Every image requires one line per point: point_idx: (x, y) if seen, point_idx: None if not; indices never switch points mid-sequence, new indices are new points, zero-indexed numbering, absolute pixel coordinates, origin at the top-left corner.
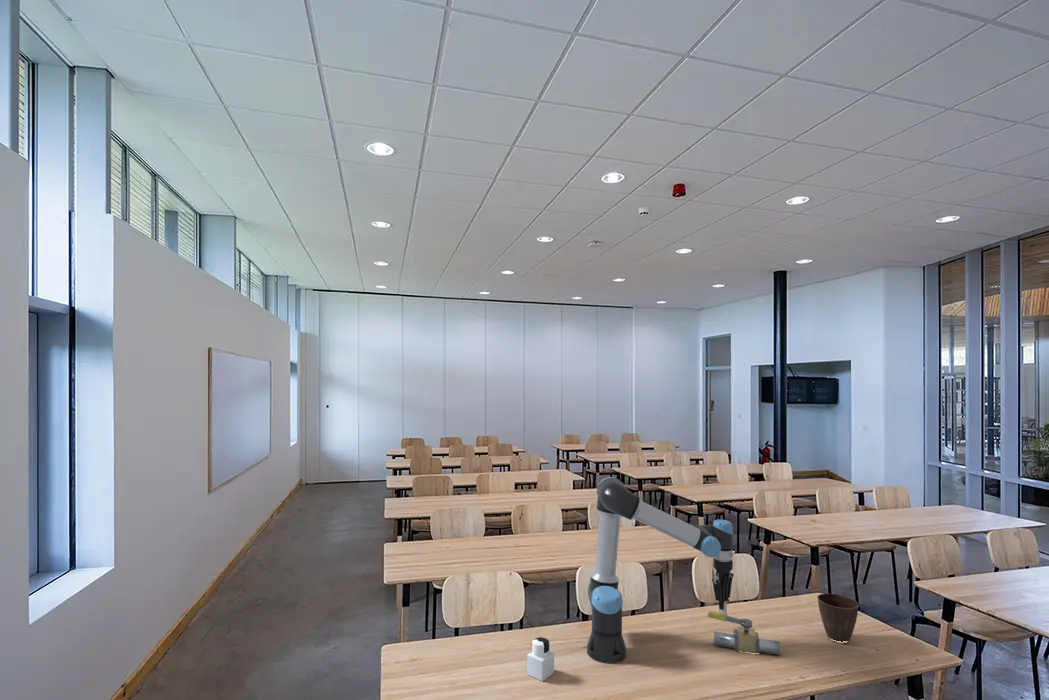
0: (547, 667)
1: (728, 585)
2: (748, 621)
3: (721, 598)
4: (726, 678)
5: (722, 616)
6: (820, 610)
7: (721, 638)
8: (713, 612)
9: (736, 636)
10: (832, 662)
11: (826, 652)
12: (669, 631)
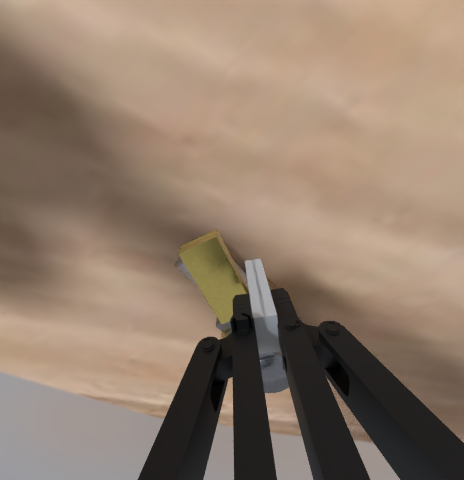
0: None
1: (399, 462)
2: (277, 381)
3: (212, 397)
4: (91, 361)
5: (216, 311)
6: None
7: (193, 282)
8: (213, 261)
9: (220, 328)
10: None
11: (407, 381)
12: (100, 71)
